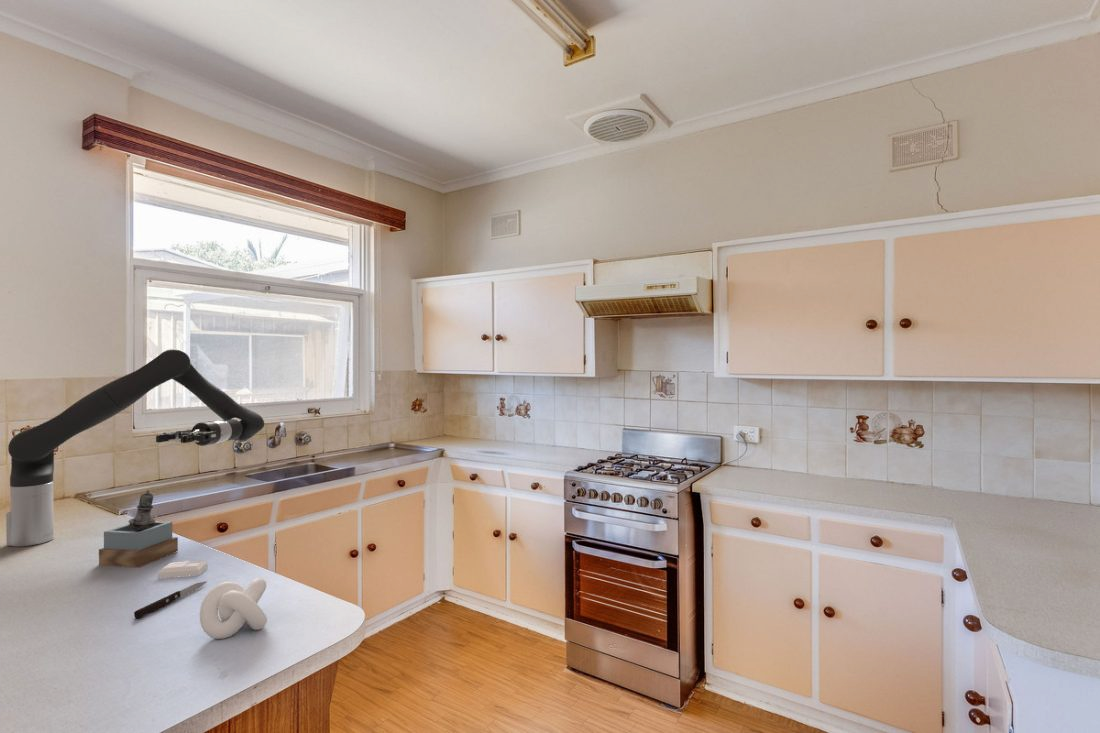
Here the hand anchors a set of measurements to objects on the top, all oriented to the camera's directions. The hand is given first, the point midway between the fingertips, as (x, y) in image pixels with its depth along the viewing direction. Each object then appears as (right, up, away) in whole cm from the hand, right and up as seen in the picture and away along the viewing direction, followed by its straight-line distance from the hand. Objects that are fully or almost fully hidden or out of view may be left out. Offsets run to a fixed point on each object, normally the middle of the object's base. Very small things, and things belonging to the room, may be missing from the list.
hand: (169, 439), depth 161 cm
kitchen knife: (+30, -30, -42) cm, 60 cm away
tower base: (+2, -31, -15) cm, 34 cm away
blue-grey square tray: (+2, -26, -15) cm, 30 cm away
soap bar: (+22, -31, -26) cm, 45 cm away
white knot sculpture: (+52, -30, -54) cm, 81 cm away
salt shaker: (+2, -24, -15) cm, 28 cm away
